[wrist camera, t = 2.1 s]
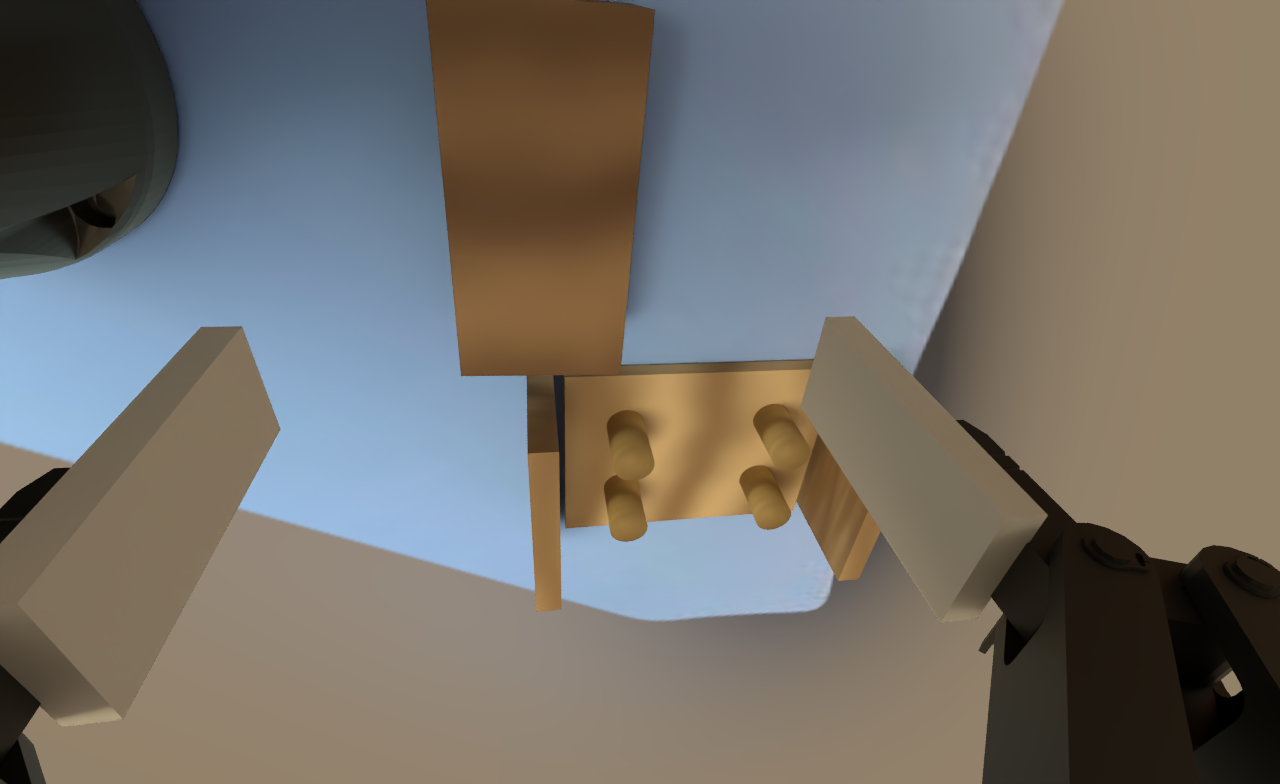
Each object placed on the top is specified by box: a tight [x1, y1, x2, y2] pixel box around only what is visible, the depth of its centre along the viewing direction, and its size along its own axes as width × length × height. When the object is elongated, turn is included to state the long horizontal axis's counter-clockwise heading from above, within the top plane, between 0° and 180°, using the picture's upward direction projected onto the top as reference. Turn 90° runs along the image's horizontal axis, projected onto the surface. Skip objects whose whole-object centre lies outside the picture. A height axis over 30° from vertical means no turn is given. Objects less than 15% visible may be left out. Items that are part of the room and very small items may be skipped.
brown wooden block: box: [426, 0, 655, 376], centre depth 24 cm, size 14×7×6 cm, turn 174°
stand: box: [527, 360, 881, 612], centre depth 34 cm, size 20×12×7 cm, turn 86°
